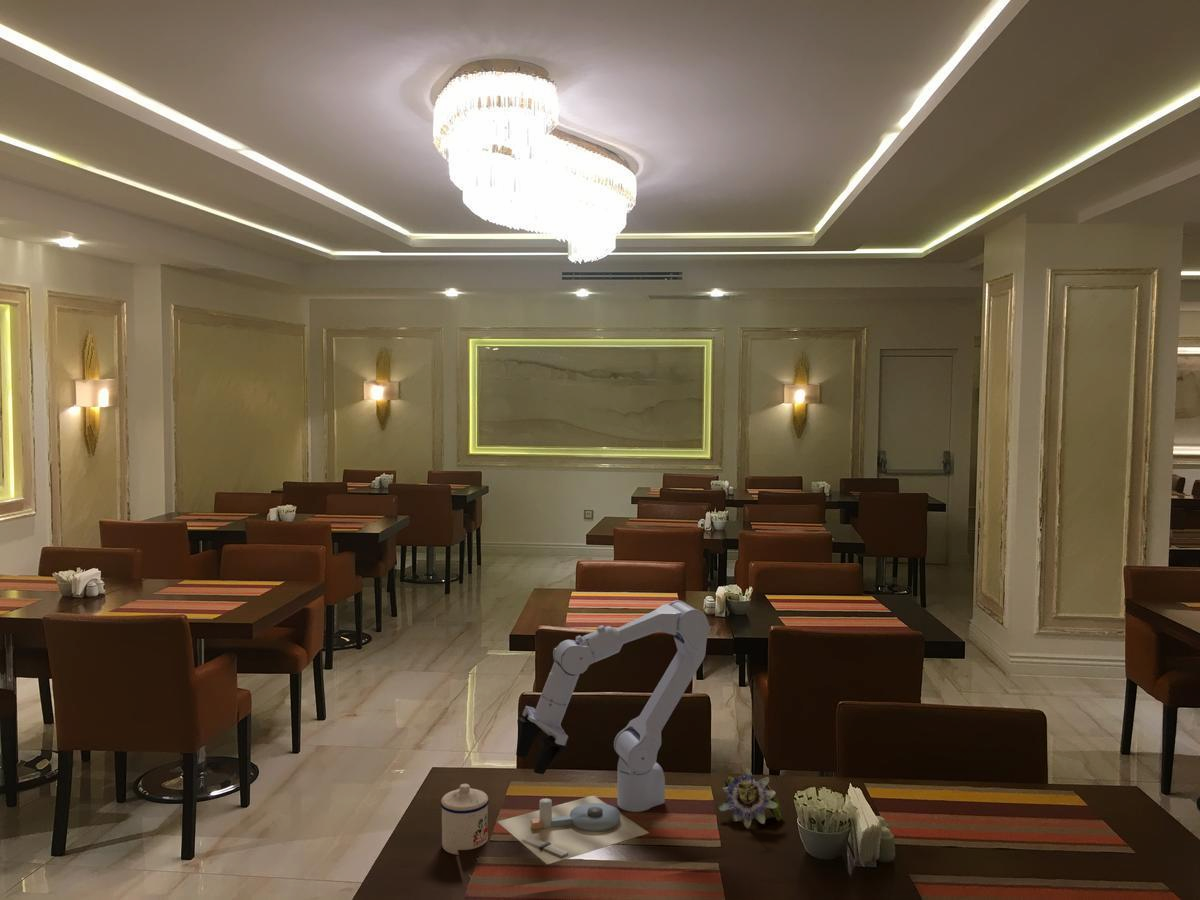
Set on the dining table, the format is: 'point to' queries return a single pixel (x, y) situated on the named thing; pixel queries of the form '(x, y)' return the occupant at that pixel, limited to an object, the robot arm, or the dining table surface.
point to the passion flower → (749, 799)
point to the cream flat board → (567, 833)
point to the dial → (578, 817)
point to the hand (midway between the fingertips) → (529, 764)
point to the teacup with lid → (464, 819)
